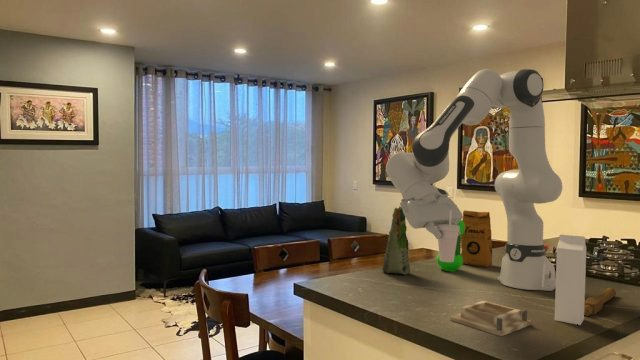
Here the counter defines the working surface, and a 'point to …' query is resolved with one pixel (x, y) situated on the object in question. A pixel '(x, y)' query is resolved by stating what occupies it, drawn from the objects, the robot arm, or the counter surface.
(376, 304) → the counter surface
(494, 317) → the holder
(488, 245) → the coffee package
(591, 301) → the tap handle
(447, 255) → the smoothie
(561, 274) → the milk
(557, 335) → the counter surface
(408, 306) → the counter surface
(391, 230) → the pouch
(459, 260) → the plastic bottle
